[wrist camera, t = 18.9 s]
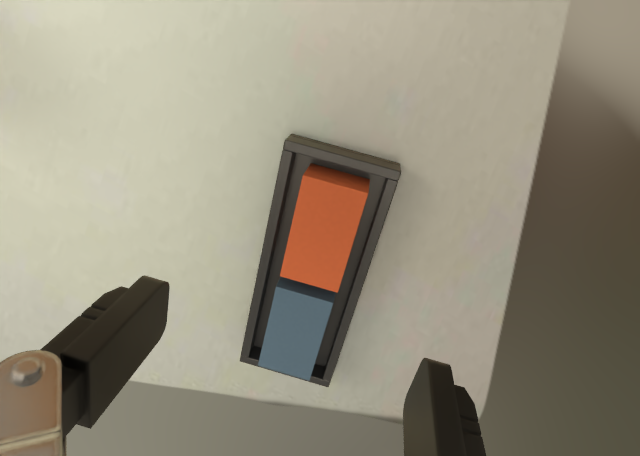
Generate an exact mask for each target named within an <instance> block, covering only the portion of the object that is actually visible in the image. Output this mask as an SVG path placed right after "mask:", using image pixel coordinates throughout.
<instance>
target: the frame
mask: <svg viewBox="0 0 640 456" xmlns="http://www.w3.org/2000/svg"><path fill="white" fill-rule="evenodd" d="M311 163H312V164H316V165H319V166H323V167H326V168H330V169H334V170H337V171H341V172H345V173H348V174H352V175H355V176H359V177H363V178H366V179H370V184H369V192H368V197H367V200H366V203H365V206H364V210H363V213H362V216H361V219H360V223H359V226H358V229H357V232H356V236H355V239H354V242H353V245H352V249H351V252H350V255H349V258H348V262H347V265H346V268H345V271H344V275H343V278H342V281H341V284H340V288H339V291H338V293H337V292H336V293H335V298H334V303H333V306H332V309H331V313H330V316H329V319H328V322H327V326H326V329H325V332H324V335H323V339H322V342H321V345H320V348H319V352H318V355H317V358H316V361H315V365H314V368H313V371H312V374H311V378H310V380H309V382H312V383H316V384H319V385H322V386H326V387H329V384H330V381H331V378H332V375H333V372H334V369H335V366H336V364H337V361H338V358H339V355H340V352H341V349H342V346H343V343H344V340H345V337H346V334H347V331H348V328H349V325H350V322H351V319H352V316H353V313H354V310H355V307H356V304H357V301H358V298H359V295H360V292H361V289H362V287H363V284H364V281H365V278H366V275H367V272H368V269H369V266H370V263H371V260H372V257H373V254H374V251H375V248H376V245H377V242H378V239H379V236H380V233H381V230H382V227H383V224H384V221H385V218H386V215H387V213H388V210H389V207H390V204H391V201H392V198H393V195H394V192H395V189H396V186H397V183H398V180H399V177H400V174H401V168H400V164H399V163H396V162H392V161H389V160H385V159H381V158H378V157H374V156H370V155H367V154H363V153H360V152H356V151H352V150H349V149H345V148H341V147H338V146H334V145H330V144H327V143H323V142H320V141H316V140H312V139H309V138H305V137H301V136H298V135H294V134H291V135H290V136H289V137H288V138H287V139H286V140H285V142H284V147H283V151H282V156H281V161H280V166H279V171H278V176H277V181H276V185H275V190H274V195H273V200H272V205H271V210H270V215H269V220H268V225H267V229H266V234H265V239H264V244H263V249H262V254H261V259H260V264H259V269H258V273H257V278H256V283H255V288H254V293H253V298H252V303H251V308H250V313H249V317H248V322H247V327H246V332H245V337H244V342H243V347H242V352H241V357H240V361H241V362H245V363H248V364H251V365H255V366H258V362H259V358H260V354H261V349H262V345H263V341H264V336H265V332H266V328H267V323H268V319H269V315H270V310H271V306H272V302H273V297H274V293H275V289H276V286H277V283H278V281H279V279H280V277H281V276H280V273H281V268H282V264H283V260H284V255H285V251H286V246H287V242H288V238H289V233H290V229H291V225H292V220H293V216H294V212H295V207H296V203H297V199H298V194H299V190H300V186H301V181H302V177H303V175H304V173H305V171H306V170H307V168H308V167H309V165H310V164H311ZM258 367H261V366H258ZM261 368H264V367H261ZM265 369H268V368H265ZM268 370H271V369H268ZM272 371H274V370H272ZM275 372H278V371H275ZM278 373H281V372H278ZM282 374H284V373H282ZM285 375H288V374H285ZM289 376H291V375H289ZM292 377H295V376H292ZM295 378H298V377H295ZM299 379H301V378H299ZM302 380H305V379H302ZM305 381H308V380H305Z"/></svg>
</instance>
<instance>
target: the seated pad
mask: <svg viewBox="0 0 640 456" xmlns="http://www.w3.org/2000/svg"><path fill="white" fill-rule="evenodd" d="M335 293H336V292H333V291H330V290H326V289H323V288H319V287H316V286H312V285H309V284H305V283H302V282H298V281H295V280H291V279H288V278H284V277H280V279H279V281H278V283H277V286H276V289H275V293H274V297H273V302H272V306H271V310H270V315H269V319H268V323H267V328H266V332H265V336H264V341H263V345H262V349H261V354H260V358H259V362H258V366H261V367H264V368H268V369H271V370H274V371H278V372H281V373H284V374H288V375H291V376H295V377H298V378H301V379H305V380H308V381H309V380H310V378H311V374H312V371H313V368H314V365H315V361H316V358H317V355H318V352H319V348H320V345H321V342H322V339H323V335H324V332H325V329H326V326H327V322H328V319H329V316H330V313H331V309H332V306H333V303H334V298H335Z"/></svg>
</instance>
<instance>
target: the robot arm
mask: <svg viewBox="0 0 640 456" xmlns="http://www.w3.org/2000/svg"><path fill="white" fill-rule="evenodd" d="M168 299H169V283H168V282H165V281H162V280H158V279H155V278H151V277H148V276H142V277H141V278H139V279H138V280H137V281H136V282H135V283H134V284H133V285H132V286H131V287H130V288H129V289H128V288H125V287H119V288H117V289H114V290H112V291H110V292H107V293H105V294H104V295H102V296H101V297H100V298H99V299H98V300H97V301H96V302H94V303H93V304H92V306H91V307H89V308H88V309H86V310H85V311H84V312H83V313H82V315H81V316H78V317H77V318H76V319H75V320H74V321H73V322H72V323H70V324H69V325H68V326H67V327H66V328H65V329H64V330H62V331H61V332H60V333H59V334H58V335H57V336H56V337H54V338H53V339H52V340H51V341H50V342H49V343H48V344H47V345H45V346H44V347H43V348H42V349H41V350H32V351H25V352H21V353H18V354H15V355H13V356H10V357H9V358H7V359H5V360H3V361H2V362H1V363H0V456H66V435H67V434H68V433H69V432H70V431H71V429H72V428H73V427H74V426H75V425H76V424H78V425H81V426H84V427H87V428H91V427H92V426H93V425H94V424H95V422H96V421H97V420H98V418H99V417H100V416H101V415H102V413H103V412H104V411H105V409H106V408H107V407H108V406H109V404H110V403H111V402H112V400H113V399H114V398H115V397H116V395H117V394H118V393H119V392H120V390H121V389H122V388H123V386H124V385H125V384H126V382H127V381H128V380H129V379H130V377H131V376H132V375H133V374H134V372H135V371H136V370H137V368H138V367H139V366H140V365H141V363H142V362H143V361H144V359H145V358H146V357H147V356H148V354H149V353H150V352H151V350H152V349H153V348H154V347H155V345H156V344H157V343H158V341H159V340H160V338H161V337H162V335H163V332H164V330H165V327H166V322H167V311H168ZM403 426H404V456H486V453H485V448H484V444H483V439H482V437H481V431H480V426H479V423H478V417H477V413H476V408H475V404H474V402H473V401H472V399H471V397H470V396H469V394H468V393H467V391H466V390H465V388H464V387H460V386H457V385H454V381H453V375H452V370H451V366H450V365H448V364H445V363H441V362H438V361H435V360H431V359H428V358H424V359H423V360H422V362H421V364H420V366H419V368H418V370H417V373H416V375H415V377H414V379H413V382H412V384H411V386H410V388H409V391H408V393H407V396H406V399H405V404H404V410H403Z"/></svg>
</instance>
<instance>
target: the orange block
mask: <svg viewBox="0 0 640 456" xmlns="http://www.w3.org/2000/svg"><path fill="white" fill-rule="evenodd" d="M369 184H370V179H366V178H363V177H359V176H355V175H352V174H348V173H345V172H341V171H337V170H334V169H330V168H326V167H323V166H319V165H316V164H312V163H311V164H310V165H309V167H308V168H307V170H306V171H305V173H304V175H303V177H302V181H301V186H300V190H299V194H298V199H297V203H296V207H295V212H294V216H293V220H292V225H291V229H290V233H289V238H288V242H287V246H286V251H285V255H284V260H283V264H282V268H281V273H280V276H281V277H284V278H288V279H291V280H295V281H298V282H302V283H305V284H309V285H312V286H316V287H319V288H323V289H326V290H330V291H333V292H337V293H338V291H339V288H340V284H341V281H342V278H343V275H344V271H345V268H346V265H347V262H348V258H349V255H350V252H351V249H352V245H353V242H354V239H355V236H356V232H357V229H358V226H359V223H360V219H361V216H362V213H363V210H364V206H365V203H366V200H367V197H368V192H369Z"/></svg>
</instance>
